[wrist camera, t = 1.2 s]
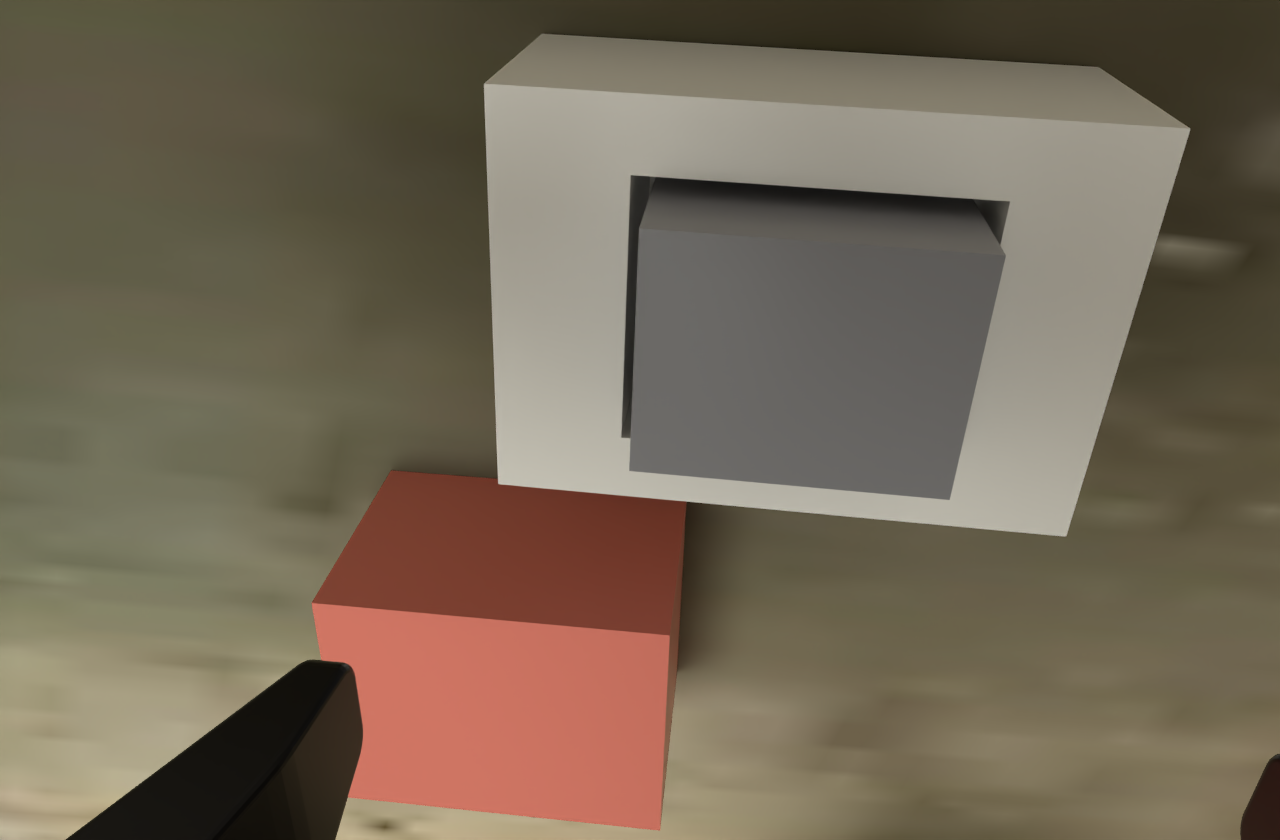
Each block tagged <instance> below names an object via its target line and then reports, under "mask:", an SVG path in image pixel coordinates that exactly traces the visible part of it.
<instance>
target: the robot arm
mask: <svg viewBox="0 0 1280 840" xmlns="http://www.w3.org/2000/svg"><path fill="white" fill-rule="evenodd" d="M362 743H363V723H362V717H361V710H360V703H359V697H358V690H357V684H356V677H355V673H354V671H353V669H352V667H351V666H350V665H349V664H346V663H343V662H333V661H323V660H307V661H305V662H302V663H301V664H299V665H297V666H296V667H295V668H293V669H292V670H291V671H290V672H288V673H287V674H286V675H284V676H283V677H282V678H280V679H279V680H278V681H276V682H275V683H274V684H272V685H271V686H270V687H268V688H267V689H266V690H264V691H263V692H262V693H260V694H259V695H258V696H256V697H255V698H254V699H252V700H251V701H250V702H248V703H247V704H246V705H244V706H243V707H242V708H240V709H239V710H238V711H236V712H235V713H234V714H232V715H231V716H230V717H228V718H227V719H226V720H224V721H223V722H222V723H220V724H219V725H218V726H216V727H215V728H214V729H212V730H211V731H210V732H208V733H207V734H206V735H204V736H203V737H202V738H200V739H199V740H198V741H196V742H195V743H194V744H192V745H191V746H190V747H188V748H187V749H186V750H184V751H183V752H182V753H180V754H179V755H178V756H176V757H175V758H174V759H172V760H171V761H170V762H168V763H167V764H166V765H164V766H163V767H162V768H160V769H159V770H158V771H156V772H155V773H154V774H152V775H151V776H150V777H148V778H147V779H146V780H144V781H143V782H142V783H140V784H139V785H138V786H136V787H135V788H134V789H132V790H131V791H130V792H128V793H127V794H126V795H124V796H123V797H122V798H120V799H119V800H118V801H116V802H115V803H114V804H112V805H111V806H110V807H108V808H107V809H106V810H104V811H103V812H102V813H100V814H99V815H98V816H96V817H95V818H94V819H92V820H91V821H90V822H88V823H87V824H86V825H84V826H83V827H82V828H80V829H79V830H78V831H76V832H75V833H74V834H72V835H71V836H70V837H68V838H67V839H66V840H335V839H336V835H337V832H338V828H339V825H340V822H341V818H342V815H343V812H344V808H345V805H346V801H347V798H348V795H349V791H350V788H351V784H352V781H353V778H354V774H355V771H356V768H357V764H358V761H359V757H360V754H361V749H362ZM1240 835H1241V840H1280V754H1277V755H1275V756H1274V757H1272V758H1271V759H1270V760H1269V762H1268V763H1267V765H1266V767H1265V769H1264V771H1263V773H1262V776H1261V778H1260V780H1259V782H1258V784H1257V786H1256V788H1255V790H1254V792H1253V795H1252V797H1251V799H1250V801H1249V803H1248V805H1247V807H1246V809H1245V812H1244V814H1243V817H1242V821H1241V830H1240Z"/></svg>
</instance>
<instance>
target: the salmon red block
mask: <svg viewBox="0 0 1280 840" xmlns="http://www.w3.org/2000/svg"><path fill="white" fill-rule="evenodd" d="M685 519H686V501H675V500H664V499H653V498H643V497H632V496H621V495H610V494H599V493H589V492H578V491H567V490H556V489H545V488H534V487H524V486H513V485H502V484H498V479H493V478H481V477H468V476H455V475H443V474H430V473H417V472H404V471H392V470H391V471H390V473H389V475H388V476H387V478H386V480H385V481H384V483H383V485H382V486H381V488H380V490H379V491H378V493H377V495H376V496H375V498H374V500H373V501H372V503H371V505H370V506H369V508H368V510H367V511H366V513H365V515H364V516H363V518H362V520H361V521H360V523H359V525H358V526H357V528H356V530H355V531H354V533H353V535H352V537H351V538H350V540H349V542H348V543H347V545H346V547H345V548H344V550H343V552H342V553H341V555H340V557H339V558H338V560H337V562H336V563H335V565H334V567H333V568H332V570H331V572H330V573H329V575H328V577H327V578H326V580H325V582H324V583H323V585H322V587H321V588H320V590H319V592H318V593H317V595H316V597H315V598H314V600H313V602H312V608H313V614H314V619H315V625H316V631H317V637H318V643H319V648H320V654H321V660H323V661H333V662H343V663H346V664H349V665H350V666H351V667H352V669H353V671H354V673H355V677H356V684H357V690H358V697H359V703H360V710H361V717H362V723H363V743H362V749H361V754H360V757H359V761H358V764H357V768H356V771H355V774H354V778H353V781H352V784H351V788H350V791H349V795H348V797H350V798H360V799H369V800H378V801H388V802H397V803H407V804H416V805H425V806H435V807H444V808H454V809H463V810H472V811H482V812H491V813H500V814H510V815H519V816H529V817H538V818H547V819H557V820H566V821H576V822H585V823H594V824H604V825H613V826H623V827H632V828H641V829H651V830H660V826H661V817H662V807H663V798H664V789H665V779H666V770H667V761H668V751H669V742H670V732H671V723H672V714H673V704H674V695H675V686H676V676H677V663H678V645H679V627H680V609H681V591H682V573H683V555H684V537H685Z"/></svg>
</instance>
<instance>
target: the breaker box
mask: <svg viewBox="0 0 1280 840" xmlns="http://www.w3.org/2000/svg"><path fill="white" fill-rule="evenodd" d="M484 100H485V129H486V157H487V185H488V213H489V241H490V269H491V297H492V326H493V354H494V382H495V410H496V438H497V466H498V484H502V485H513V486H524V487H534V488H545V489H556V490H567V491H578V492H589V493H599V494H610V495H621V496H632V497H643V498H653V499H664V500H675V501H686V502H697V503H708V504H718V505H729V506H740V507H751V508H762V509H772V510H783V511H794V512H805V513H816V514H827V515H837V516H848V517H859V518H870V519H881V520H892V521H902V522H913V523H924V524H935V525H946V526H956V527H967V528H978V529H989V530H1000V531H1011V532H1021V533H1032V534H1043V535H1054V536H1065V537H1066V535H1067V532H1068V529H1069V525H1070V522H1071V519H1072V516H1073V512H1074V509H1075V506H1076V503H1077V499H1078V496H1079V493H1080V489H1081V486H1082V483H1083V480H1084V476H1085V473H1086V470H1087V467H1088V463H1089V460H1090V457H1091V453H1092V450H1093V447H1094V444H1095V440H1096V437H1097V434H1098V430H1099V427H1100V424H1101V421H1102V417H1103V414H1104V411H1105V408H1106V404H1107V401H1108V398H1109V394H1110V391H1111V388H1112V385H1113V381H1114V378H1115V375H1116V372H1117V368H1118V365H1119V362H1120V358H1121V355H1122V352H1123V349H1124V345H1125V342H1126V339H1127V335H1128V332H1129V329H1130V326H1131V322H1132V319H1133V316H1134V313H1135V309H1136V306H1137V303H1138V299H1139V296H1140V293H1141V290H1142V286H1143V283H1144V280H1145V277H1146V273H1147V270H1148V267H1149V263H1150V260H1151V257H1152V254H1153V250H1154V247H1155V244H1156V240H1157V237H1158V234H1159V231H1160V227H1161V224H1162V221H1163V218H1164V214H1165V211H1166V208H1167V204H1168V201H1169V198H1170V195H1171V191H1172V188H1173V185H1174V182H1175V178H1176V175H1177V172H1178V168H1179V165H1180V162H1181V159H1182V155H1183V152H1184V149H1185V145H1186V142H1187V139H1188V136H1189V132H1190V128H1189V127H1187V126H1186V125H1184V124H1183V123H1181V122H1180V121H1178V120H1177V119H1175V118H1174V117H1172V116H1171V115H1169V114H1168V113H1166V112H1165V111H1163V110H1162V109H1160V108H1159V107H1157V106H1156V105H1154V104H1153V103H1151V102H1150V101H1148V100H1147V99H1145V98H1144V97H1142V96H1141V95H1140V94H1138V93H1137V92H1135V91H1134V90H1132V89H1131V88H1129V87H1128V86H1126V85H1125V84H1123V83H1122V82H1120V81H1119V80H1117V79H1116V78H1114V77H1113V76H1111V75H1110V74H1108V73H1107V72H1105V71H1104V70H1102V69H1101V68H1099V67H1089V66H1072V65H1056V64H1039V63H1022V62H1005V61H989V60H972V59H955V58H939V57H922V56H905V55H889V54H872V53H855V52H839V51H822V50H805V49H788V48H772V47H755V46H738V45H722V44H705V43H688V42H672V41H655V40H638V39H621V38H605V37H588V36H571V35H555V34H541V35H540V36H539V37H538V38H536V39H535V40H534V41H533V42H532V43H531V44H529V45H528V46H527V47H526V48H525V49H524V50H522V51H521V52H520V53H519V54H518V55H517V56H515V57H514V58H513V59H512V60H511V61H510V62H509V63H507V64H506V65H505V66H504V67H503V68H502V69H500V70H499V71H498V72H497V73H496V74H495V75H493V76H492V77H491V78H490V79H489V80H488V81H486V82H485V83H484ZM655 177H665V178H679V179H694V180H708V181H723V182H737V183H751V184H766V185H780V186H794V187H809V188H823V189H838V190H852V191H866V192H881V193H895V194H909V195H924V196H938V197H952V198H967V199H973V200H974V202H975V203H976V205H977V207H978V208H979V210H980V212H981V214H982V215H983V217H984V219H985V220H986V222H987V224H988V225H989V227H990V229H991V231H992V232H993V234H994V236H995V237H996V239H997V241H998V243H999V244H1000V246H1001V248H1002V249H1003V251H1004V253H1005V254H1006V258H1005V262H1004V266H1003V271H1002V275H1001V279H1000V284H999V288H998V292H997V297H996V301H995V305H994V310H993V314H992V318H991V323H990V327H989V331H988V336H987V340H986V344H985V349H984V353H983V357H982V362H981V366H980V371H979V375H978V379H977V384H976V388H975V392H974V397H973V401H972V405H971V410H970V414H969V418H968V423H967V427H966V431H965V436H964V440H963V444H962V449H961V453H960V457H959V462H958V466H957V470H956V475H955V479H954V484H953V488H952V492H951V497H950V500H944V499H933V498H922V497H911V496H900V495H889V494H878V493H867V492H856V491H845V490H834V489H823V488H812V487H801V486H790V485H779V484H768V483H757V482H746V481H735V480H724V479H713V478H701V477H690V476H679V475H668V474H657V473H646V472H635V471H629V463H630V438H631V414H632V389H633V365H634V340H635V315H636V291H637V266H638V241H639V227H640V224H641V221H642V218H643V215H644V211H645V208H646V205H647V202H648V199H649V196H650V193H651V190H652V187H653V184H654V181H655Z"/></svg>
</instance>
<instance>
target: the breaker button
mask: <svg viewBox="0 0 1280 840" xmlns="http://www.w3.org/2000/svg"><path fill="white" fill-rule="evenodd" d="M1005 258H1006V254H1005V253H1004V251H1003V249H1002V248H1001V246H1000V244H999V243H998V241H997V239H996V237H995V236H994V234H993V232H992V231H991V229H990V227H989V225H988V224H987V222H986V220H985V219H984V217H983V215H982V214H981V212H980V210H979V208H978V207H977V205H976V203H975V202H974V200H973V199H967V198H952V197H938V196H924V195H909V194H895V193H881V192H866V191H852V190H838V189H823V188H809V187H794V186H780V185H766V184H751V183H737V182H723V181H708V180H694V179H679V178H665V177H655V181H654V184H653V187H652V190H651V193H650V196H649V199H648V202H647V205H646V208H645V211H644V215H643V218H642V221H641V224H640V227H639V241H638V266H637V291H636V315H635V340H634V365H633V389H632V414H631V438H630V463H629V471H635V472H646V473H657V474H668V475H679V476H690V477H701V478H713V479H724V480H735V481H746V482H757V483H768V484H779V485H790V486H801V487H812V488H823V489H834V490H845V491H856V492H867V493H878V494H889V495H900V496H911V497H922V498H933V499H944V500H950V497H951V492H952V488H953V484H954V479H955V475H956V470H957V466H958V462H959V457H960V453H961V449H962V444H963V440H964V436H965V431H966V427H967V423H968V418H969V414H970V410H971V405H972V401H973V397H974V392H975V388H976V384H977V379H978V375H979V371H980V366H981V362H982V357H983V353H984V349H985V344H986V340H987V336H988V331H989V327H990V323H991V318H992V314H993V310H994V305H995V301H996V297H997V292H998V288H999V284H1000V279H1001V275H1002V271H1003V266H1004V262H1005Z"/></svg>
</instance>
